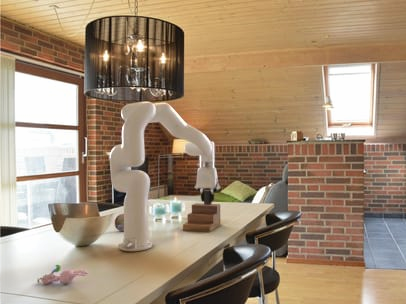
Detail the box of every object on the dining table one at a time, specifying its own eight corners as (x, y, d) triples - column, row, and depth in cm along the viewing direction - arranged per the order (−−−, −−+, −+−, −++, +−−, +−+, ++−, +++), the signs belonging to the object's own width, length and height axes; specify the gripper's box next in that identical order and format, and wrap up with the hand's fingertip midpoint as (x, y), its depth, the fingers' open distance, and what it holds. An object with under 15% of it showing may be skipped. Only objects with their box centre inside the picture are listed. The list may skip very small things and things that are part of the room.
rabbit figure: (34, 291, 102) (82, 284, 100) (31, 271, 102) (78, 263, 100) (48, 283, 108) (93, 276, 106) (45, 264, 108) (90, 257, 106)
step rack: (209, 232, 167) (209, 209, 167) (182, 230, 171) (182, 208, 171) (220, 224, 183) (220, 204, 183) (195, 223, 187) (195, 203, 187)
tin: (117, 232, 168) (117, 215, 168) (113, 231, 170) (113, 214, 170) (143, 226, 180) (142, 210, 180) (139, 226, 182) (139, 210, 182)
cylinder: (210, 205, 174) (209, 191, 174) (202, 204, 175) (202, 190, 175) (212, 203, 178) (212, 190, 177) (205, 203, 179) (205, 189, 179)
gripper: (189, 165, 175) (189, 201, 175) (220, 165, 170) (221, 202, 170) (194, 165, 182) (195, 199, 182) (225, 165, 177) (225, 200, 178)
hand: (207, 200), depth 176 cm, fingers closed on cylinder, 4 cm apart
